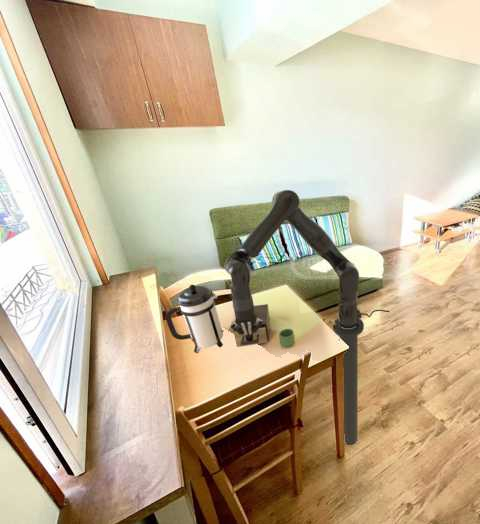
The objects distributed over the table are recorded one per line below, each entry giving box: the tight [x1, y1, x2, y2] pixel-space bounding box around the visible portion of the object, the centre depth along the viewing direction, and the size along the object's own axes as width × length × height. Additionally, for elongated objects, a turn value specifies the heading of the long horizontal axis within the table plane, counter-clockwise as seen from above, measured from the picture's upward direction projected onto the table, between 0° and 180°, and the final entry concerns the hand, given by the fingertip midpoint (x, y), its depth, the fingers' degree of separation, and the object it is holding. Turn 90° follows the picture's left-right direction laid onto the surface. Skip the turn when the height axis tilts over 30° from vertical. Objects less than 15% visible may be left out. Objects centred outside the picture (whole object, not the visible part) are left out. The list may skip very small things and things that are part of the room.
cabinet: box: [232, 303, 271, 346], centre depth 129 cm, size 17×14×9 cm
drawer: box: [233, 326, 268, 348], centre depth 124 cm, size 20×13×7 cm, turn 13°
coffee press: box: [165, 284, 224, 354], centre depth 116 cm, size 17×16×30 cm
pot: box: [278, 328, 296, 349], centre depth 122 cm, size 6×6×6 cm
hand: (250, 340), depth 117 cm, fingers closed
